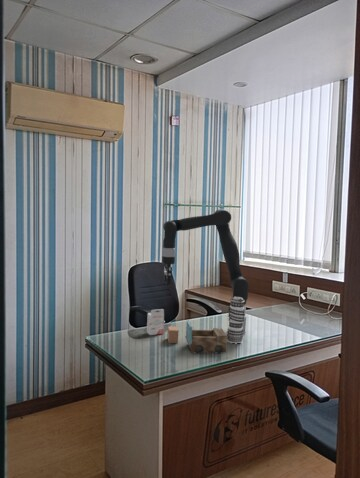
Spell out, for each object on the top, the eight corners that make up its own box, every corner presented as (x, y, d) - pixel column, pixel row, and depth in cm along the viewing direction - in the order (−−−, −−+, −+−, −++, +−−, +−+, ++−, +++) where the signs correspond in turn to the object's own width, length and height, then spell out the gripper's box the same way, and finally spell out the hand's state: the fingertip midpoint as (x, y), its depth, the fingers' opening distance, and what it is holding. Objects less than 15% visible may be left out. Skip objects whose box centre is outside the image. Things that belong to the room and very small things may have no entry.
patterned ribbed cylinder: (223, 339, 228) (226, 296, 225) (237, 338, 231) (240, 295, 229) (231, 344, 219) (234, 300, 217) (245, 343, 223) (249, 299, 220)
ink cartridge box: (159, 331, 235) (161, 306, 234) (163, 333, 231) (164, 308, 230) (146, 332, 232) (147, 307, 230) (149, 335, 227) (151, 310, 226)
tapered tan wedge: (176, 338, 224) (177, 326, 224) (177, 343, 217) (178, 330, 217) (167, 338, 224) (168, 326, 223) (168, 343, 217) (169, 330, 216)
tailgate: (187, 337, 217) (188, 319, 216) (191, 345, 204) (192, 327, 203) (185, 337, 216) (186, 319, 215) (188, 345, 204) (189, 327, 203)
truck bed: (220, 343, 220) (221, 327, 219) (226, 353, 206) (227, 336, 205) (187, 343, 218) (188, 327, 217) (191, 353, 204) (192, 335, 203)
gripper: (177, 257, 226) (175, 285, 228) (173, 253, 240) (171, 280, 242) (163, 257, 225) (162, 285, 226) (160, 253, 239) (159, 280, 240)
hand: (167, 283), depth 234 cm, fingers open, 8 cm apart
